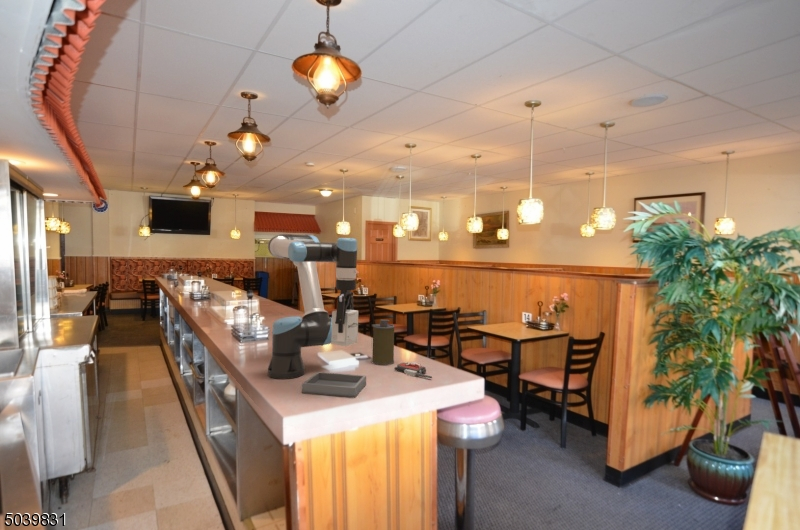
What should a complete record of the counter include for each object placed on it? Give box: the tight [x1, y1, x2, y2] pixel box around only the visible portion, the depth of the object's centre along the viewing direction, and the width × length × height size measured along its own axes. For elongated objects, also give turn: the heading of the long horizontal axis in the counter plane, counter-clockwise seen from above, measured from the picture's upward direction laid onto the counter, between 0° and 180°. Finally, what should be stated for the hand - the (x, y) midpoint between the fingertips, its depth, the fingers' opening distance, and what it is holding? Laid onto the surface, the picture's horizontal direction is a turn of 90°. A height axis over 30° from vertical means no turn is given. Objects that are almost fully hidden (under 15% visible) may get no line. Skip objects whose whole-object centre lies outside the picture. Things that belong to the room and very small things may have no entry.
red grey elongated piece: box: [394, 361, 433, 379], centre depth 176 cm, size 9×4×20 cm
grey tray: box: [301, 371, 367, 399], centre depth 154 cm, size 20×15×4 cm
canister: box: [370, 319, 395, 366], centre depth 192 cm, size 11×10×20 cm
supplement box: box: [330, 309, 359, 348], centre depth 154 cm, size 7×7×13 cm
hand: (344, 338), depth 155 cm, fingers closed on supplement box, 9 cm apart
